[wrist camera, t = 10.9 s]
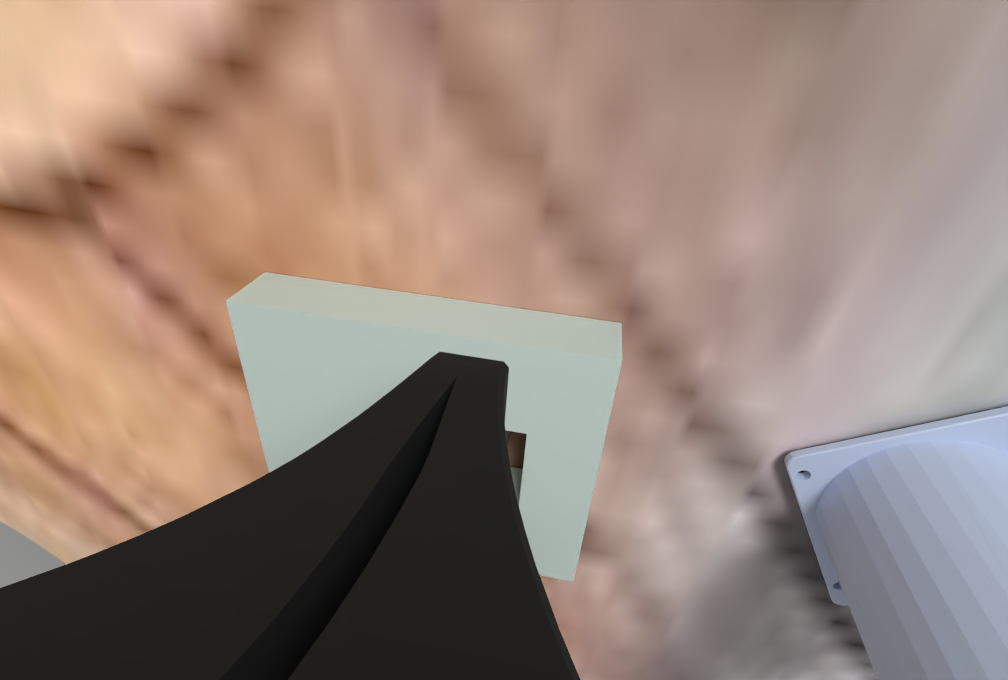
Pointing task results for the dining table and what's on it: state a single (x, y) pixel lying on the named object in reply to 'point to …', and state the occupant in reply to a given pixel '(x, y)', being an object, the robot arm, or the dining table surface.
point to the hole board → (408, 345)
